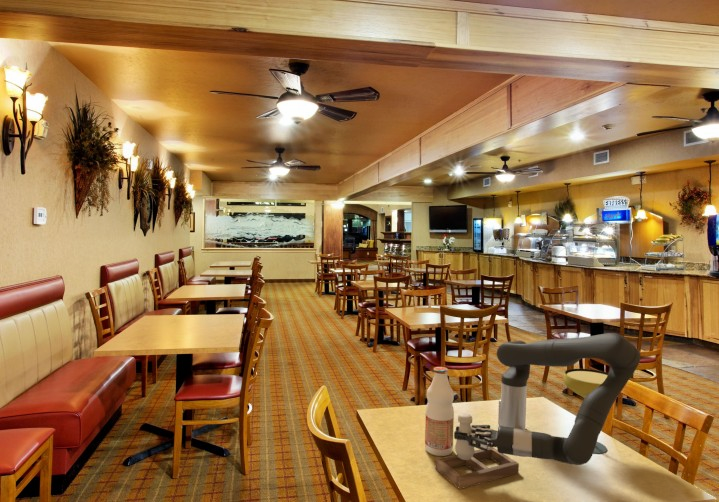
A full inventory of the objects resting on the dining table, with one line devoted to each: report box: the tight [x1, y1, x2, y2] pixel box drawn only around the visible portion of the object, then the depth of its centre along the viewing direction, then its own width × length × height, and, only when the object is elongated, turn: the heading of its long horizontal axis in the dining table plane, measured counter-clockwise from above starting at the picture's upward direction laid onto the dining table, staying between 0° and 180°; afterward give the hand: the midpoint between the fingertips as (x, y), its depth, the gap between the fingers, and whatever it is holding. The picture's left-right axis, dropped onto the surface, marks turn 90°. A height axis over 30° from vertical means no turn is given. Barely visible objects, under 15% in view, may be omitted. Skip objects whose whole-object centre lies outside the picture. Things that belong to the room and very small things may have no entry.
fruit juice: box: [424, 366, 455, 457], centre depth 151 cm, size 9×9×28 cm
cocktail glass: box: [563, 368, 609, 455], centre depth 156 cm, size 18×18×25 cm
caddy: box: [435, 447, 520, 489], centre depth 138 cm, size 12×22×3 cm, turn 115°
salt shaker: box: [454, 412, 476, 460], centre depth 136 cm, size 6×6×13 cm
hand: (455, 432), depth 137 cm, fingers closed on salt shaker, 3 cm apart
